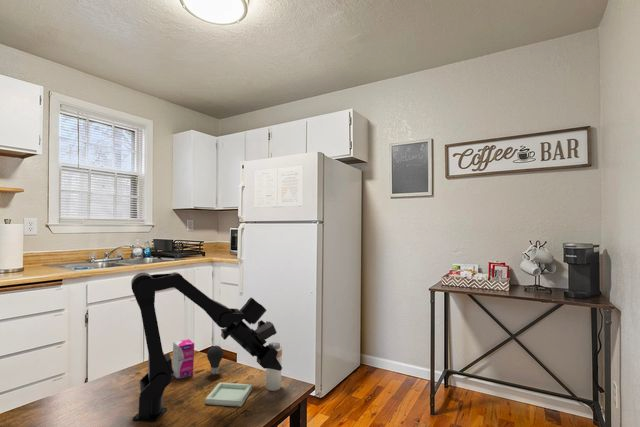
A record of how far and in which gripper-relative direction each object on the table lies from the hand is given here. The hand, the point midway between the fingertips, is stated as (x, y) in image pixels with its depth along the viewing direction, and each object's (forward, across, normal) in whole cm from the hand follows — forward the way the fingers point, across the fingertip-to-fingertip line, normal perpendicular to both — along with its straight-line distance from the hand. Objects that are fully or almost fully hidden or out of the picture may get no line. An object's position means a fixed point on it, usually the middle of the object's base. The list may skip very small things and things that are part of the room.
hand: (275, 364), depth 115 cm
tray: (-6, 0, +16) cm, 17 cm away
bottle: (+5, 0, +6) cm, 7 cm away
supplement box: (-13, +24, +23) cm, 36 cm away
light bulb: (-6, +19, +16) cm, 26 cm away
